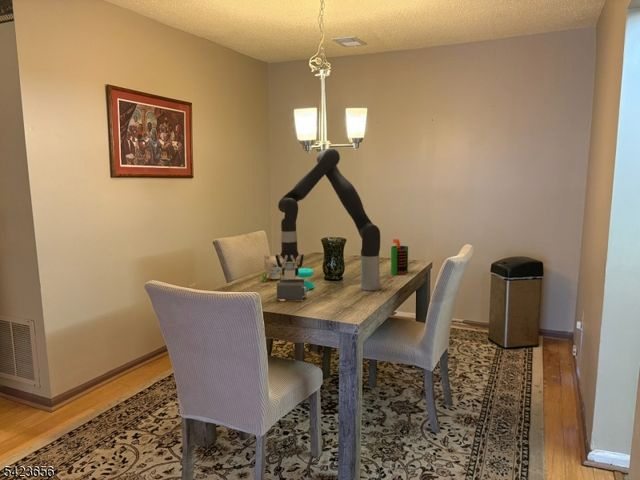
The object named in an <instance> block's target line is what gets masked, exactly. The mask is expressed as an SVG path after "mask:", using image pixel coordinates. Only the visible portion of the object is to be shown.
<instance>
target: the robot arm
mask: <svg viewBox="0 0 640 480" xmlns="http://www.w3.org/2000/svg"><path fill="white" fill-rule="evenodd" d="M340 160H341V155H340V153H339V151H338V150H337V149H336V148H333V147H330V148H326V149H324V150H322V151H320V152H319V153H318V154H317V156H316V162H317V163H316V164H315V165H314V167H312V169H311V170H310V171H309V172H307V173H306V174H305V175H304V176H303V177H302V178H301V179H300V180H299V181H298V182H297V183H296V184H295V185H294V187H293V188H292V189H291V190H290V191H288V192H287V193H286V194H285V195H283V196H282V197H281V199H280V200H279V202H278V206H277V208H278V211H280V212H282V213H284V217H283V218H282V219H281V222H280V223H281V224H280V228H281V232H280V233H281V235H280V242H281V243H280V245H281V246H280V247H281V252H280V254H278V253H277V254H275V255H274V256H275V257H276V261H277V265H278V267H281V268H282V271H281V272H282V276H284V270H285V269H286V263H293V264H294V269H295V276H296V277H297V275H298V273H299V271H298V269H300V268H302V266H303V262H304V258H305V254H303V253H299V249H298V233H297V218H298V213H299V204H298V202H299V201H303V200H304V199H305V198H306V197H307V196H308V195H309V193H310V192H311V191H312V189H314V188H315V186H316V185H317V184H318V183H319V182H320V180H321V179H322V178H323V177H326V178H327V180H328V181H329V183H330V184H331V186H332V188H333V190H334V192H335V194H336V195H337V197H338V199H339V201H340V203H341V204H342V206H343V207H344V209H345V211H347V214H348V215H349V216H350V217H351V219H352V220H353V223H354V225H355V227H356V229H357V232H358V234H359V236H360V238H361V250H360V273H361V275H360V277H361V280H360V281H361V283H360V284H361V286H360V288H361V290H363V291H378V290H379V291H380V289H381V288H380V287H381V285H380V284H381V282H380V281H381V280H380V277H381V275H380V274H381V272H380V250H381V231H380V228H379V226H378V225H375V224H374V223H373V222H372V220H371V219H370V218H369V216H368V215H367V213H366V210H365V207H364V204H363V203H362V199H361V197H360V195H359V193H358V191H357V189H356V188H355V187H354V185H353V184H352V182H350V181H349V180H348V179H347V178H346V177H345V176H344V175H343V174H342V173H341V171H340V170H339V168H338V166H337V165H338V164H339V162H340ZM298 257H299V264H298V261H297V258H298ZM280 258H281V259H282V262H283V265H282V264H281V262H280Z"/></svg>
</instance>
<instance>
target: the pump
mask: <svg viewBox="0 0 640 480" xmlns="http://www.w3.org/2000/svg"><path fill="white" fill-rule="evenodd" d="M285 268H286V269H285V270H284V275H283V277H284V278H283V279H297V276H295V265H294V264H293V262H287V263H286V265H285Z"/></svg>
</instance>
